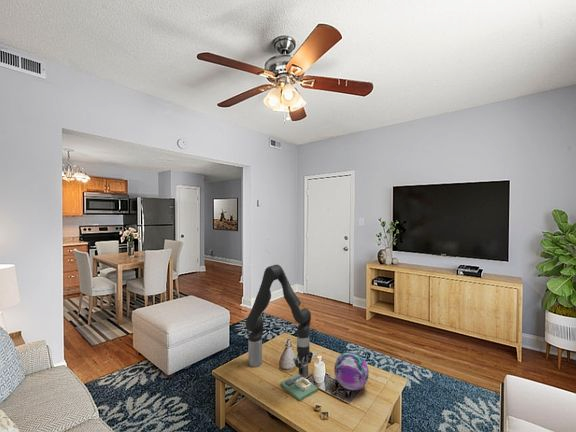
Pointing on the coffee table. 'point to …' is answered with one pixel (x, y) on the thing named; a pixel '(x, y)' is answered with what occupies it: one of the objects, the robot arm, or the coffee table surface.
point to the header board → (299, 387)
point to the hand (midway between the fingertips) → (303, 371)
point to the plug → (304, 369)
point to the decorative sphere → (351, 371)
